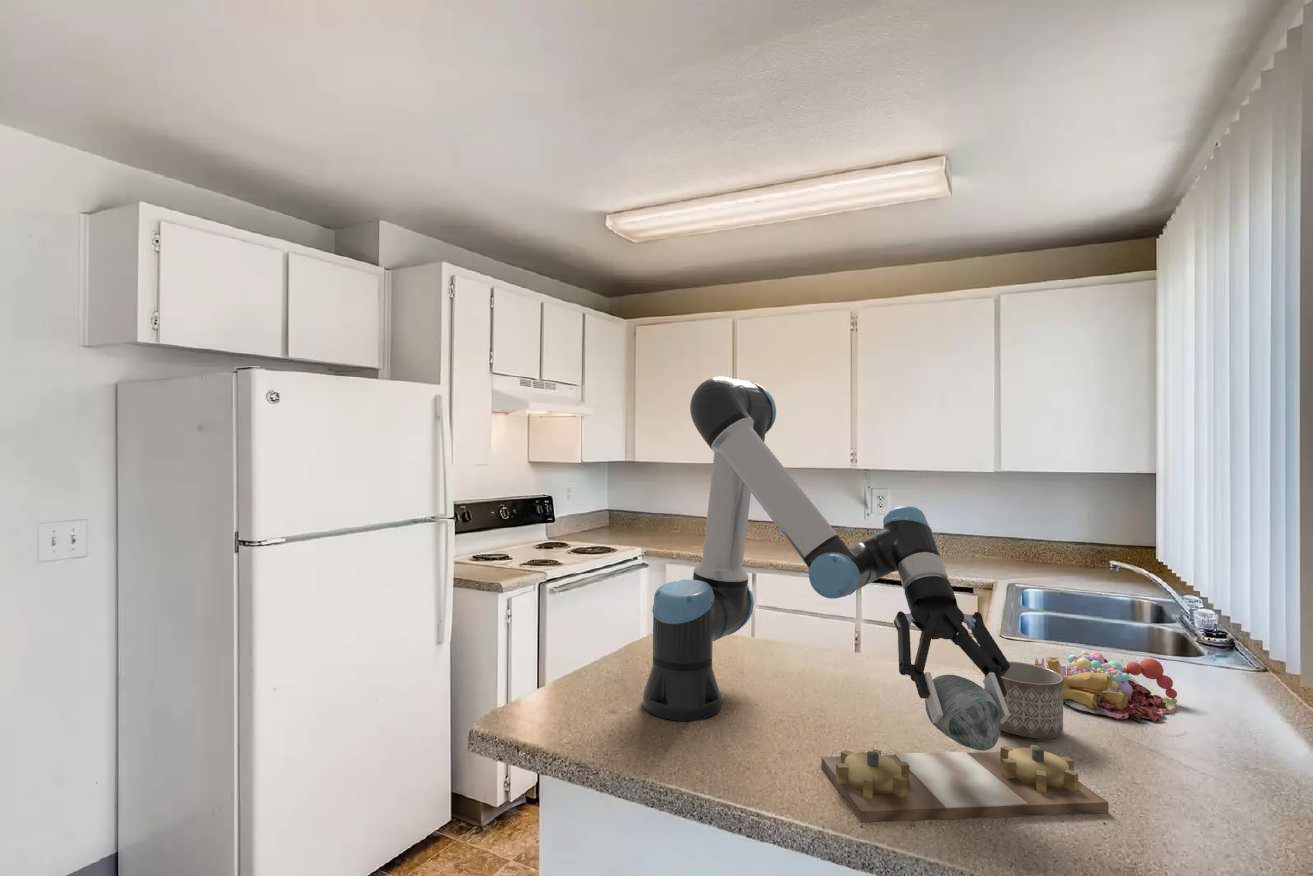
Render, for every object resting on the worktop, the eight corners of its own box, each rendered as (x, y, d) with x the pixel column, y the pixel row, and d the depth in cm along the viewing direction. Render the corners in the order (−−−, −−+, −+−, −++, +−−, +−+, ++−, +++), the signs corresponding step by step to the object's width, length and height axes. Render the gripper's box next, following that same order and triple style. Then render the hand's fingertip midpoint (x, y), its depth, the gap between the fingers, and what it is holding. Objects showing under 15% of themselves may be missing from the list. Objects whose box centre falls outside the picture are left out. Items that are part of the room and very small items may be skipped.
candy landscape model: (1152, 735, 123) (1152, 683, 123) (1015, 697, 140) (1015, 652, 141) (1186, 702, 139) (1186, 657, 139) (1059, 672, 157) (1059, 632, 157)
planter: (988, 737, 120) (988, 678, 120) (980, 711, 132) (981, 657, 132) (1070, 749, 115) (1070, 688, 116) (1054, 721, 127) (1055, 666, 127)
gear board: (858, 822, 92) (858, 781, 92) (819, 766, 108) (819, 731, 108) (1111, 812, 95) (1111, 773, 95) (1036, 760, 111) (1036, 726, 111)
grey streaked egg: (1027, 737, 93) (986, 668, 96) (964, 767, 93) (925, 697, 96) (994, 722, 106) (959, 662, 109) (939, 749, 106) (906, 687, 109)
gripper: (982, 599, 117) (1035, 730, 101) (857, 598, 117) (890, 729, 101) (998, 574, 112) (1056, 708, 95) (867, 573, 111) (903, 707, 95)
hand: (971, 719), depth 98 cm, fingers closed on grey streaked egg, 9 cm apart
